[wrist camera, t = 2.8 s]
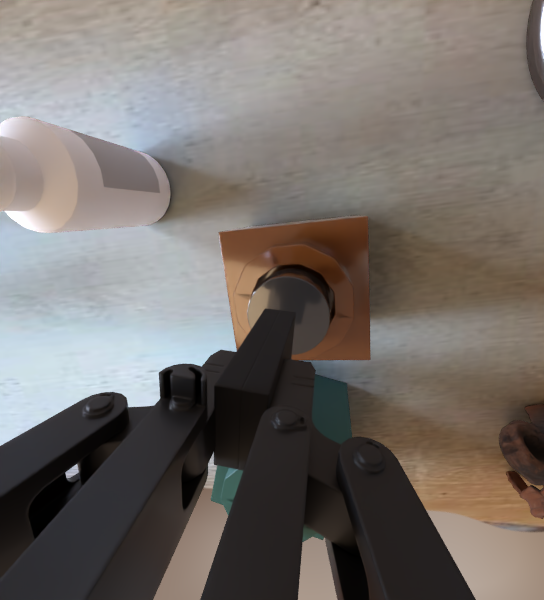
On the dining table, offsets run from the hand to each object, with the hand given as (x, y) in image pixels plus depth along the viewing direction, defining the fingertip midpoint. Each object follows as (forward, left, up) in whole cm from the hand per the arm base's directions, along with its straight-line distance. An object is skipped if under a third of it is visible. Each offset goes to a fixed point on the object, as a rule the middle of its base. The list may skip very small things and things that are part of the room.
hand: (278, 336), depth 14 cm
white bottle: (+17, -7, -15) cm, 23 cm away
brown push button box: (0, 0, -15) cm, 15 cm away
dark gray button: (0, 0, -5) cm, 5 cm away
